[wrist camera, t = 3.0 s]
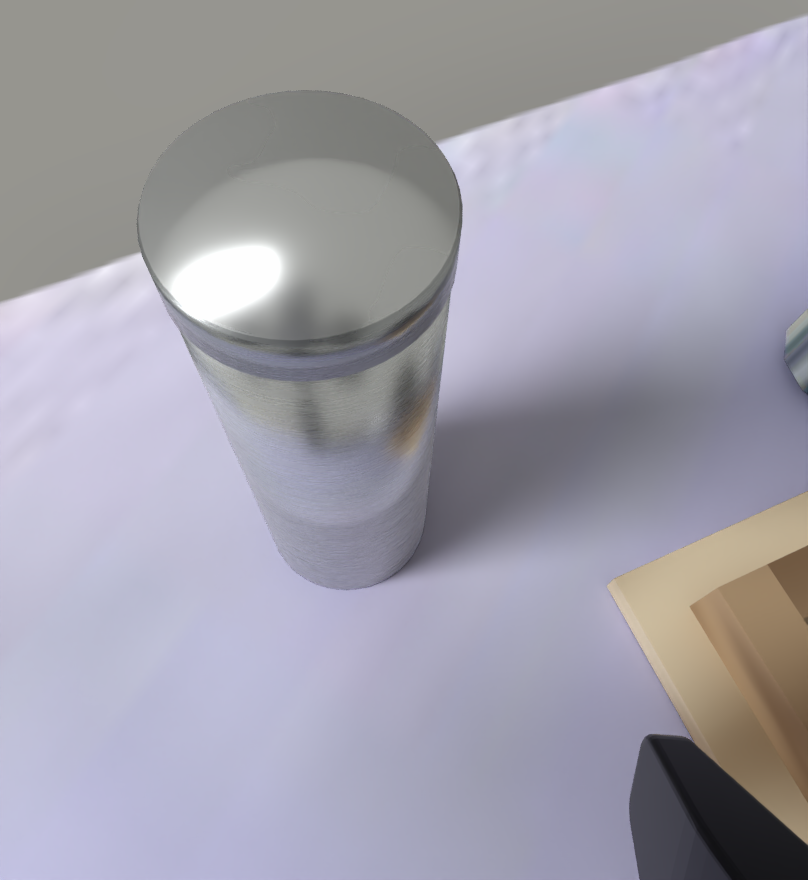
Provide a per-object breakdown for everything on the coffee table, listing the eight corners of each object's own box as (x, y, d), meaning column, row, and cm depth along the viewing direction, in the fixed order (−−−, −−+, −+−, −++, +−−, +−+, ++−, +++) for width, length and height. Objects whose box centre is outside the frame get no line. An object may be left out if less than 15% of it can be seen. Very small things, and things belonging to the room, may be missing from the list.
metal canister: (452, 553, 22) (520, 270, 10) (301, 617, 21) (189, 388, 10) (389, 422, 24) (386, 56, 12) (247, 476, 23) (99, 138, 11)
